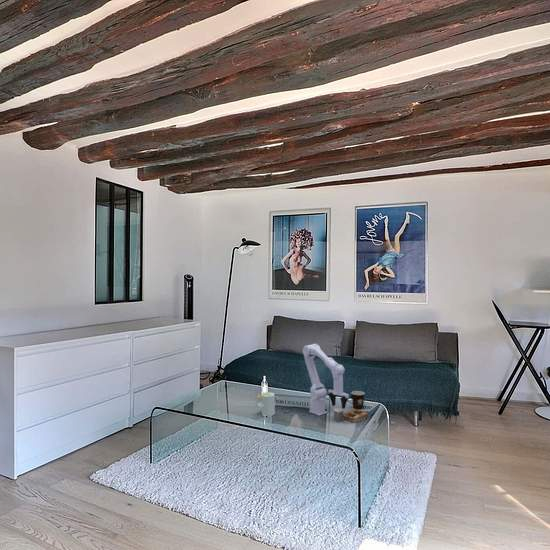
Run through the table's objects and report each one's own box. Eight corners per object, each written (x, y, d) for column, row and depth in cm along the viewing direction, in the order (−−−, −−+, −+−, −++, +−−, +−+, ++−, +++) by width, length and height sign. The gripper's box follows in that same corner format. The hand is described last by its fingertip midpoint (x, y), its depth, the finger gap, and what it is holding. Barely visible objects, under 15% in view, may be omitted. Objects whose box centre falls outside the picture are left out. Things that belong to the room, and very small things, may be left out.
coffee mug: (365, 406, 279) (365, 391, 279) (364, 410, 271) (364, 395, 270) (347, 404, 282) (347, 390, 282) (346, 409, 274) (346, 394, 273)
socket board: (340, 418, 259) (340, 414, 259) (354, 412, 268) (354, 408, 268) (354, 423, 251) (354, 418, 250) (368, 416, 260) (368, 412, 260)
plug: (334, 420, 255) (333, 409, 255) (338, 418, 258) (338, 407, 258) (339, 422, 252) (339, 410, 252) (343, 420, 255) (343, 409, 255)
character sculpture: (268, 407, 279) (267, 388, 279) (282, 411, 273) (282, 390, 272) (249, 417, 263) (249, 396, 262) (264, 421, 256) (264, 399, 256)
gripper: (324, 383, 257) (325, 405, 258) (343, 389, 246) (343, 411, 247) (332, 381, 262) (332, 402, 262) (350, 386, 251) (351, 408, 252)
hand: (338, 406), depth 255 cm, fingers open, 7 cm apart
